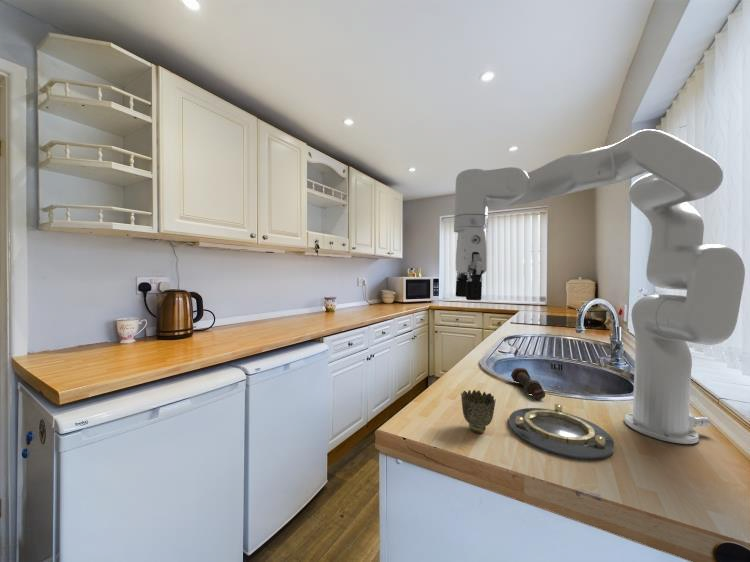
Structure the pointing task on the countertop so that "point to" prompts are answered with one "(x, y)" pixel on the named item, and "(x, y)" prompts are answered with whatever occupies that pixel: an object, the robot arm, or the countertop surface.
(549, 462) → the countertop surface
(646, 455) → the countertop surface
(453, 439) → the countertop surface
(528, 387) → the bolt
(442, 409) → the countertop surface
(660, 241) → the robot arm
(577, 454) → the carrier plate
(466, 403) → the dark hollow rounded piece
